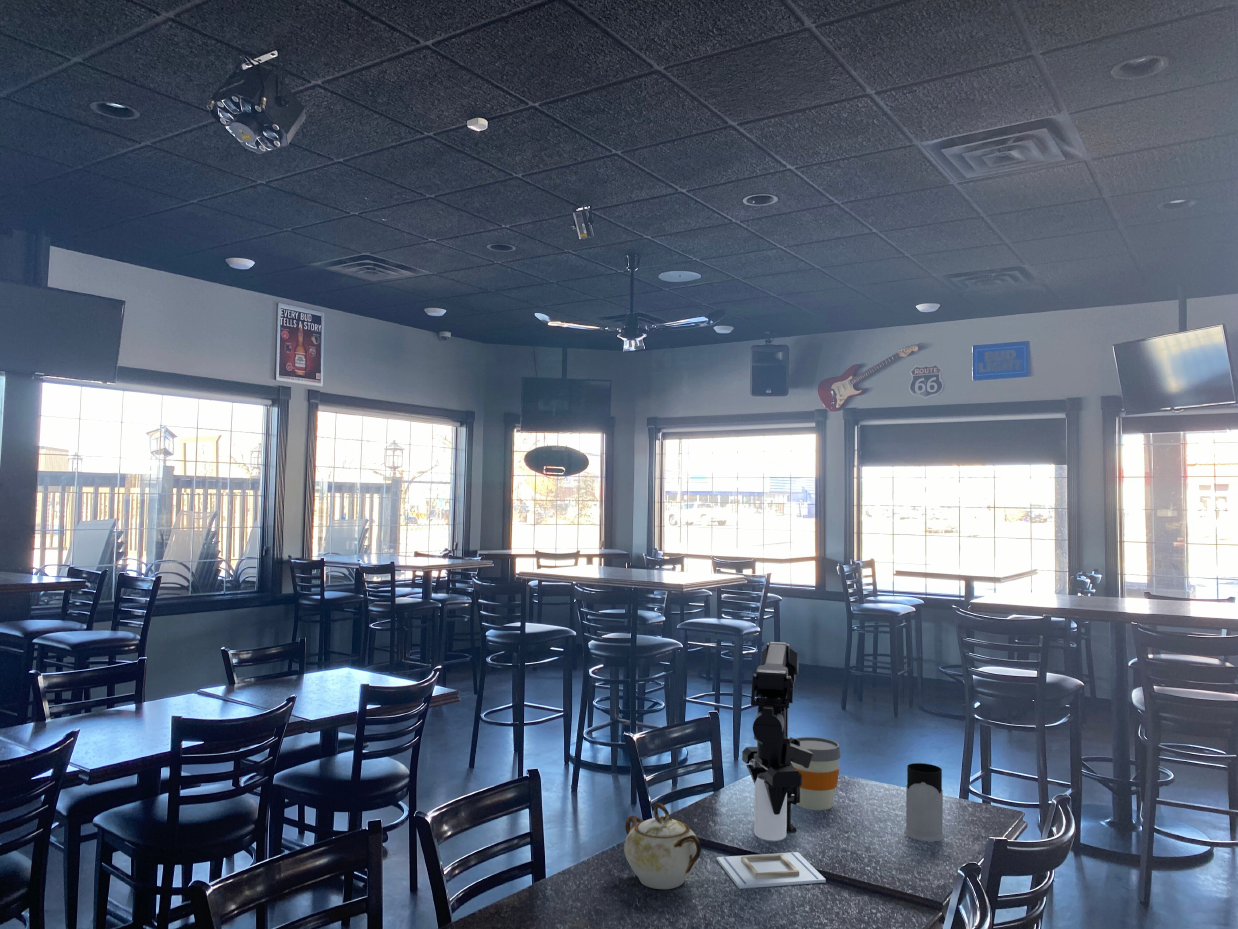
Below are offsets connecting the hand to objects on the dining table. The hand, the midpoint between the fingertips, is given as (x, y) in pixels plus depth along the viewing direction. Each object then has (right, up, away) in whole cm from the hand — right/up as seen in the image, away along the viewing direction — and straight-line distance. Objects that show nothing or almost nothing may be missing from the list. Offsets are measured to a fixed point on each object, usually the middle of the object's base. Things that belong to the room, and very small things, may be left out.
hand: (770, 808), depth 183 cm
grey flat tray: (0, -13, -1) cm, 13 cm away
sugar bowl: (-23, -12, -6) cm, 26 cm away
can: (0, -6, 0) cm, 6 cm away
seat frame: (0, -13, -1) cm, 13 cm away
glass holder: (+40, -14, +24) cm, 48 cm away
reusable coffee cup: (+18, -15, +41) cm, 47 cm away
